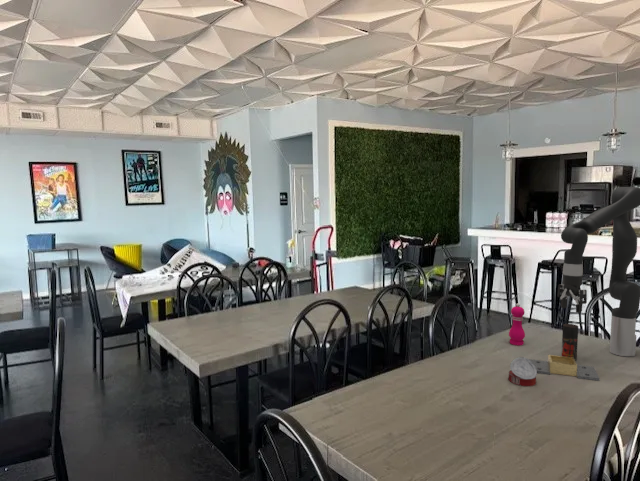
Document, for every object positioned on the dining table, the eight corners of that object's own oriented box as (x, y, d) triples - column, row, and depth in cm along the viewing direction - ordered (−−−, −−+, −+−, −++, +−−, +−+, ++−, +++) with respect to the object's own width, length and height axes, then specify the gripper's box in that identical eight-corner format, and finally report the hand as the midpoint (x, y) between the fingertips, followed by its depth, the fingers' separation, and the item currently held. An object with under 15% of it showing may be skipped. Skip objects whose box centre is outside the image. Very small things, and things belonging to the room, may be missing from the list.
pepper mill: (526, 346, 218) (527, 305, 216) (510, 345, 219) (511, 304, 217) (522, 341, 225) (524, 301, 223) (507, 340, 226) (508, 301, 224)
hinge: (593, 368, 190) (593, 358, 189) (599, 380, 178) (599, 369, 177) (528, 361, 199) (528, 351, 199) (529, 372, 187) (529, 361, 187)
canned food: (532, 390, 180) (547, 371, 177) (523, 396, 173) (538, 376, 170) (508, 371, 187) (521, 352, 184) (498, 375, 180) (512, 356, 176)
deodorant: (558, 356, 204) (560, 323, 203) (571, 356, 205) (572, 323, 203) (566, 361, 198) (568, 327, 197) (579, 360, 199) (581, 327, 197)
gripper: (593, 276, 192) (591, 313, 193) (567, 270, 205) (566, 305, 207) (577, 277, 190) (576, 315, 192) (553, 271, 204) (552, 307, 205)
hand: (571, 310), depth 199 cm, fingers open, 8 cm apart
